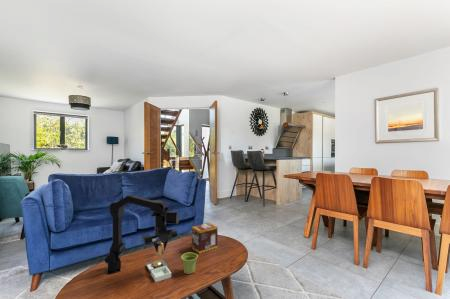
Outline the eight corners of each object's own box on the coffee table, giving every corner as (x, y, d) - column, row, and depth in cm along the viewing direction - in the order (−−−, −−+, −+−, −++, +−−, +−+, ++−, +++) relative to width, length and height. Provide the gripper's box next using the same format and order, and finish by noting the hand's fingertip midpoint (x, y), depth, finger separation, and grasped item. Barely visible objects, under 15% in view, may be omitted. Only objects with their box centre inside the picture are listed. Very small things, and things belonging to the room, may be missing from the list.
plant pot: (197, 266, 131) (197, 251, 131) (198, 275, 122) (198, 259, 122) (181, 267, 129) (181, 253, 129) (180, 276, 120) (180, 260, 120)
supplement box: (191, 248, 155) (191, 226, 156) (209, 243, 165) (209, 222, 165) (199, 253, 147) (199, 230, 147) (217, 247, 156) (217, 226, 157)
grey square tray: (150, 273, 123) (150, 271, 123) (145, 265, 131) (145, 263, 131) (168, 268, 129) (168, 266, 129) (162, 261, 137) (162, 259, 137)
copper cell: (158, 256, 122) (158, 243, 122) (155, 253, 125) (155, 241, 125) (165, 254, 124) (165, 241, 124) (162, 251, 127) (162, 239, 127)
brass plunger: (153, 268, 126) (153, 265, 126) (151, 264, 131) (151, 261, 131) (162, 266, 129) (162, 263, 129) (160, 262, 134) (160, 259, 134)
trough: (155, 282, 115) (155, 277, 115) (150, 274, 122) (150, 270, 122) (171, 277, 120) (171, 272, 120) (165, 270, 127) (166, 265, 127)
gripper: (147, 231, 113) (147, 261, 113) (181, 224, 124) (181, 251, 123) (141, 225, 122) (141, 253, 122) (173, 219, 133) (173, 245, 133)
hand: (160, 251), depth 125 cm, fingers closed on copper cell, 4 cm apart
